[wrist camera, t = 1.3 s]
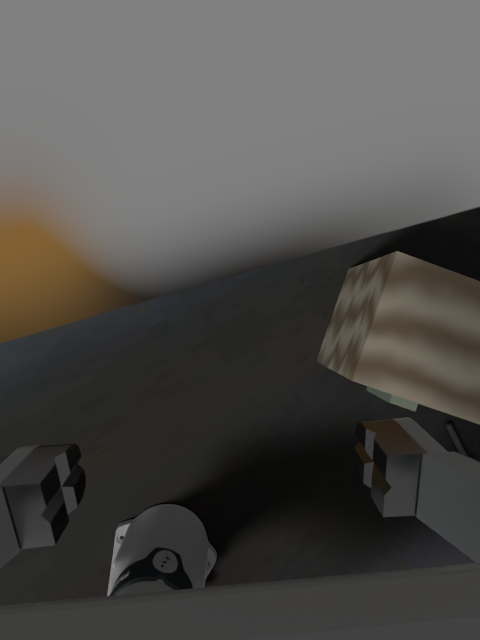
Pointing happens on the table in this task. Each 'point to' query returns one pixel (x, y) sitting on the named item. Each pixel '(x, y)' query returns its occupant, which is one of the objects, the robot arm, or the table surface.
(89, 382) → the table surface
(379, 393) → the sage wooden block
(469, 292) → the wood grain stool
